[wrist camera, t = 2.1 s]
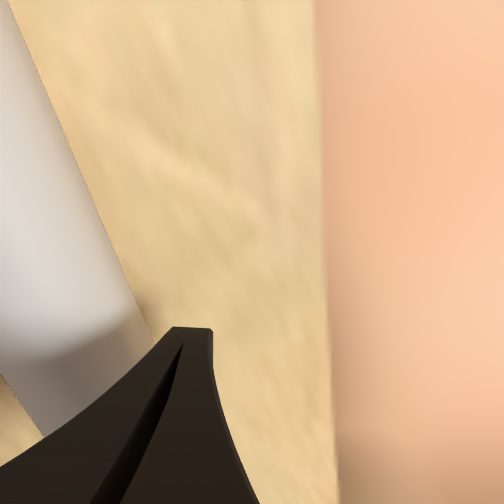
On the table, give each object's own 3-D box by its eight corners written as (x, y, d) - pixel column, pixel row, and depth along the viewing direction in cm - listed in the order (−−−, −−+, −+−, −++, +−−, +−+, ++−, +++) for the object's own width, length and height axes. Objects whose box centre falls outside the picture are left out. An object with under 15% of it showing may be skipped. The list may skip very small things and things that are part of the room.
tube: (-448, -146, 6) (94, 565, 14) (-440, -408, 4) (186, 607, 12) (-86, -32, 10) (159, 455, 19) (7, -120, 8) (234, 472, 17)
